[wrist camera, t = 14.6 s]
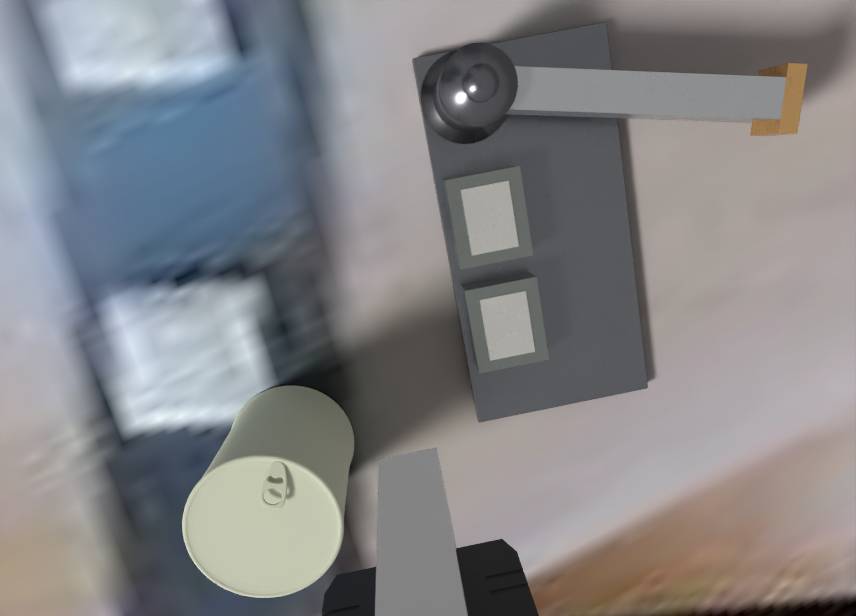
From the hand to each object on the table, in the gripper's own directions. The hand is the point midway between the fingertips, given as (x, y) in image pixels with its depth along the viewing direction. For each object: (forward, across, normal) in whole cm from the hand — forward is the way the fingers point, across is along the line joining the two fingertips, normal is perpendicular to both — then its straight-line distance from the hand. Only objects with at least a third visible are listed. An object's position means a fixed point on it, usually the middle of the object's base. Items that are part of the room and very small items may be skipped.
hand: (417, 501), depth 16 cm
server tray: (+29, +10, +2) cm, 31 cm away
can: (+30, -10, -10) cm, 33 cm away
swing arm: (+28, +16, +10) cm, 34 cm away
